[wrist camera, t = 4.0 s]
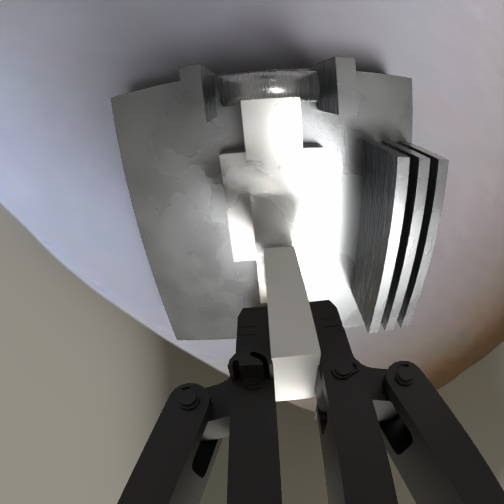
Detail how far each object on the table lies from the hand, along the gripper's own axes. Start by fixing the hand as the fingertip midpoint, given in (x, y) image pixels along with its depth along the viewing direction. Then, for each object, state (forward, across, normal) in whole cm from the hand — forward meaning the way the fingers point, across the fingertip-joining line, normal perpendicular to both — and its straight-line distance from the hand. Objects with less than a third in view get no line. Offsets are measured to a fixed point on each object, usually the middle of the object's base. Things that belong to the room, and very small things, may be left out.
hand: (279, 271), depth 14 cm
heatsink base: (+6, 0, +1) cm, 6 cm away
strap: (+1, 0, +4) cm, 4 cm away
